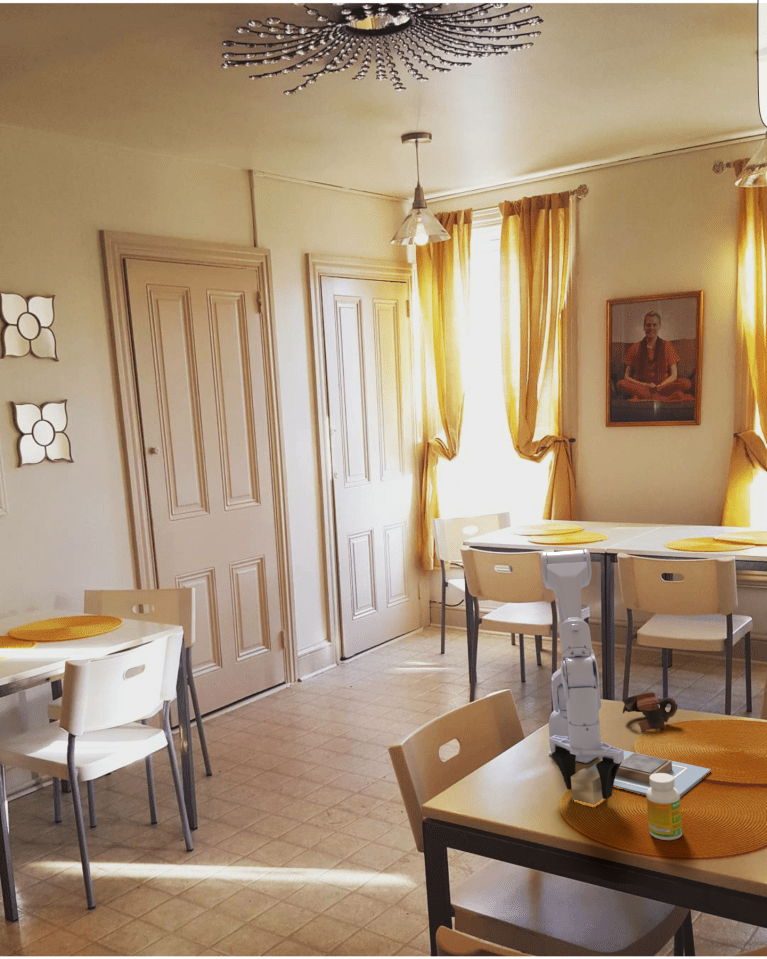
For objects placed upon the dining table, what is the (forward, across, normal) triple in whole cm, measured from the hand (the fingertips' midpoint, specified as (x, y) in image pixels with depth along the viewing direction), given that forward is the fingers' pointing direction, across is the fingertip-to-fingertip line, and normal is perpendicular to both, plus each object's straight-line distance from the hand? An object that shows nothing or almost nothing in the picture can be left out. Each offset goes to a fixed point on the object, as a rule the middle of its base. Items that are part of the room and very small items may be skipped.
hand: (589, 792), depth 161 cm
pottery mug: (+2, -9, +41) cm, 42 cm away
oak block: (+2, 0, 0) cm, 2 cm away
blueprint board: (+2, +3, +15) cm, 15 cm away
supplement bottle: (+2, +17, -4) cm, 18 cm away
